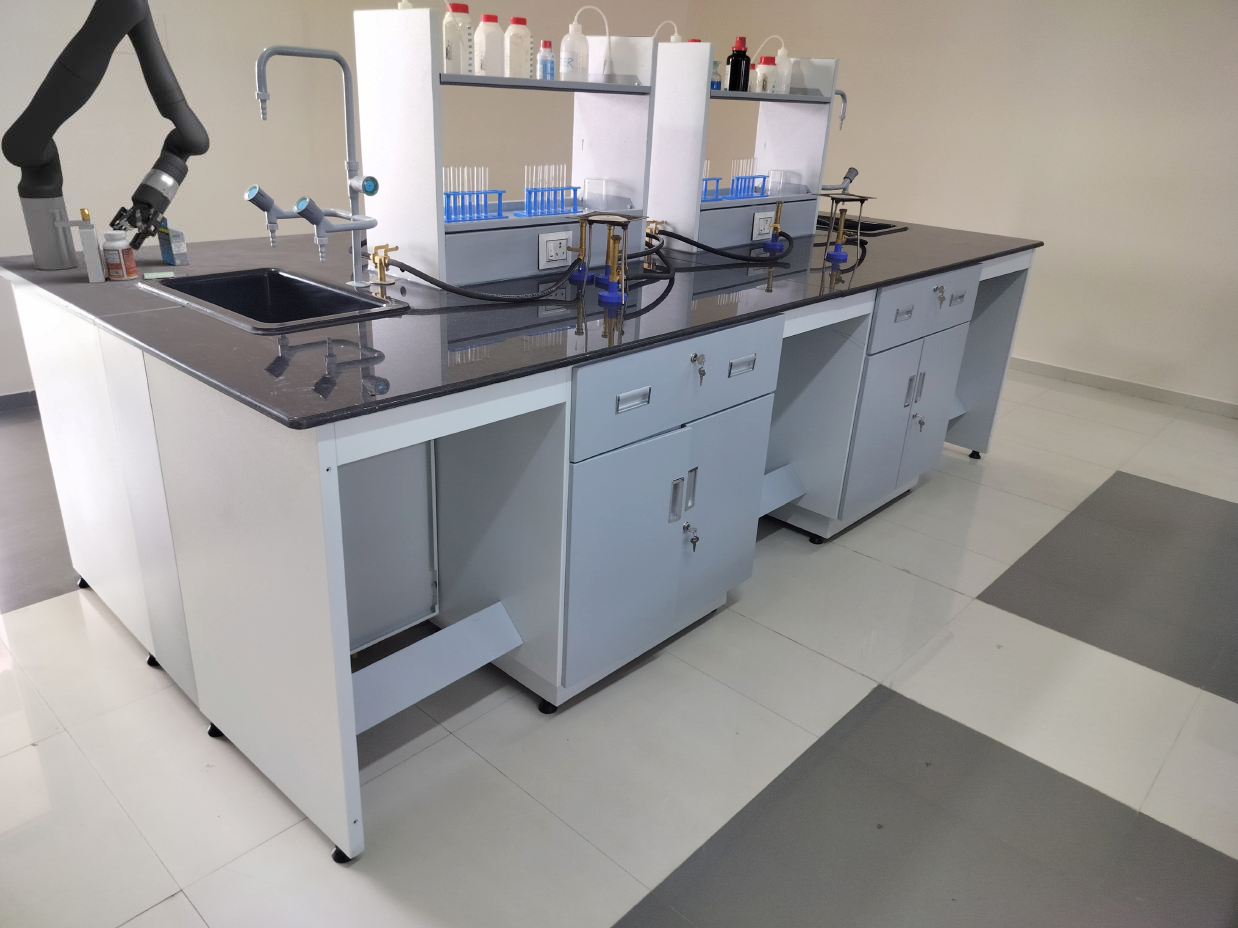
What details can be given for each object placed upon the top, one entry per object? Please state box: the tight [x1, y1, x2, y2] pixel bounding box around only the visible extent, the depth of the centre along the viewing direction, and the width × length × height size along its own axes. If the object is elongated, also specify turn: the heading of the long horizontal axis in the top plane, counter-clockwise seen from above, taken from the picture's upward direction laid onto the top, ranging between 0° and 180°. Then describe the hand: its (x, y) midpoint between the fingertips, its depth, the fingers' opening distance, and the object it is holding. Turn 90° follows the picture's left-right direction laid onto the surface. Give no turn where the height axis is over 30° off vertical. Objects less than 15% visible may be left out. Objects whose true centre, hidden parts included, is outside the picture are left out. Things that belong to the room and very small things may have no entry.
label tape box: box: [156, 217, 190, 267], centre depth 226 cm, size 9×4×12 cm, turn 46°
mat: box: [143, 271, 175, 280], centre depth 212 cm, size 6×6×1 cm
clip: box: [55, 208, 92, 228], centre depth 199 cm, size 2×7×4 cm, turn 117°
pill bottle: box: [101, 230, 138, 282], centre depth 206 cm, size 6×6×11 cm
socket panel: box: [77, 223, 106, 284], centre depth 205 cm, size 9×3×13 cm, turn 27°
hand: (121, 246), depth 206 cm, fingers open, 8 cm apart
